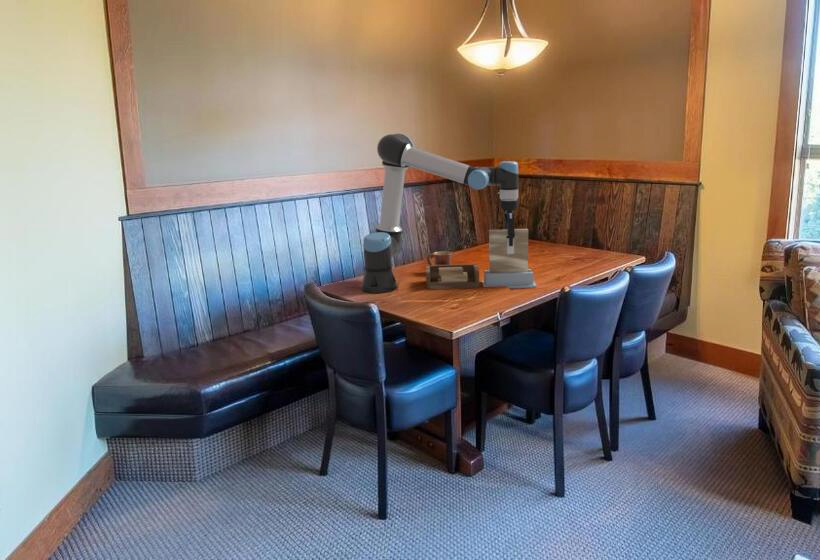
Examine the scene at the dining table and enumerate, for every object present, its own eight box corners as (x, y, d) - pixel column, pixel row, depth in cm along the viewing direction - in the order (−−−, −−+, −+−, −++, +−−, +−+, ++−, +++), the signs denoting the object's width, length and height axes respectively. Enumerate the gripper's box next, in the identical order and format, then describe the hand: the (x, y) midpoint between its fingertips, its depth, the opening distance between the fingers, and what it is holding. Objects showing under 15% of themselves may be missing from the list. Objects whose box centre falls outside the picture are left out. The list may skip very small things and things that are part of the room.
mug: (455, 273, 285) (454, 251, 283) (448, 277, 278) (447, 255, 275) (431, 271, 290) (431, 250, 288) (424, 276, 283) (423, 254, 280)
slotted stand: (481, 282, 267) (481, 269, 265) (532, 281, 266) (532, 268, 264) (483, 288, 257) (483, 275, 256) (536, 287, 256) (536, 273, 255)
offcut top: (438, 273, 262) (438, 267, 261) (462, 272, 262) (462, 266, 261) (439, 275, 257) (439, 270, 256) (463, 275, 257) (463, 269, 256)
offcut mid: (441, 278, 262) (441, 272, 262) (466, 277, 262) (466, 272, 261) (441, 281, 258) (441, 275, 257) (467, 280, 257) (467, 275, 257)
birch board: (489, 282, 263) (489, 229, 257) (526, 281, 262) (527, 228, 256) (489, 284, 261) (489, 230, 255) (527, 283, 260) (528, 229, 254)
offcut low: (438, 284, 263) (438, 278, 263) (466, 283, 263) (466, 278, 262) (438, 287, 258) (438, 281, 258) (466, 286, 258) (466, 280, 257)
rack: (426, 282, 270) (426, 265, 268) (477, 281, 269) (476, 263, 267) (426, 291, 257) (426, 272, 255) (479, 290, 256) (479, 271, 254)
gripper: (496, 196, 265) (496, 244, 270) (503, 203, 241) (502, 256, 246) (514, 195, 264) (513, 244, 270) (522, 203, 240) (521, 256, 245)
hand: (508, 250), depth 258 cm, fingers open, 13 cm apart
